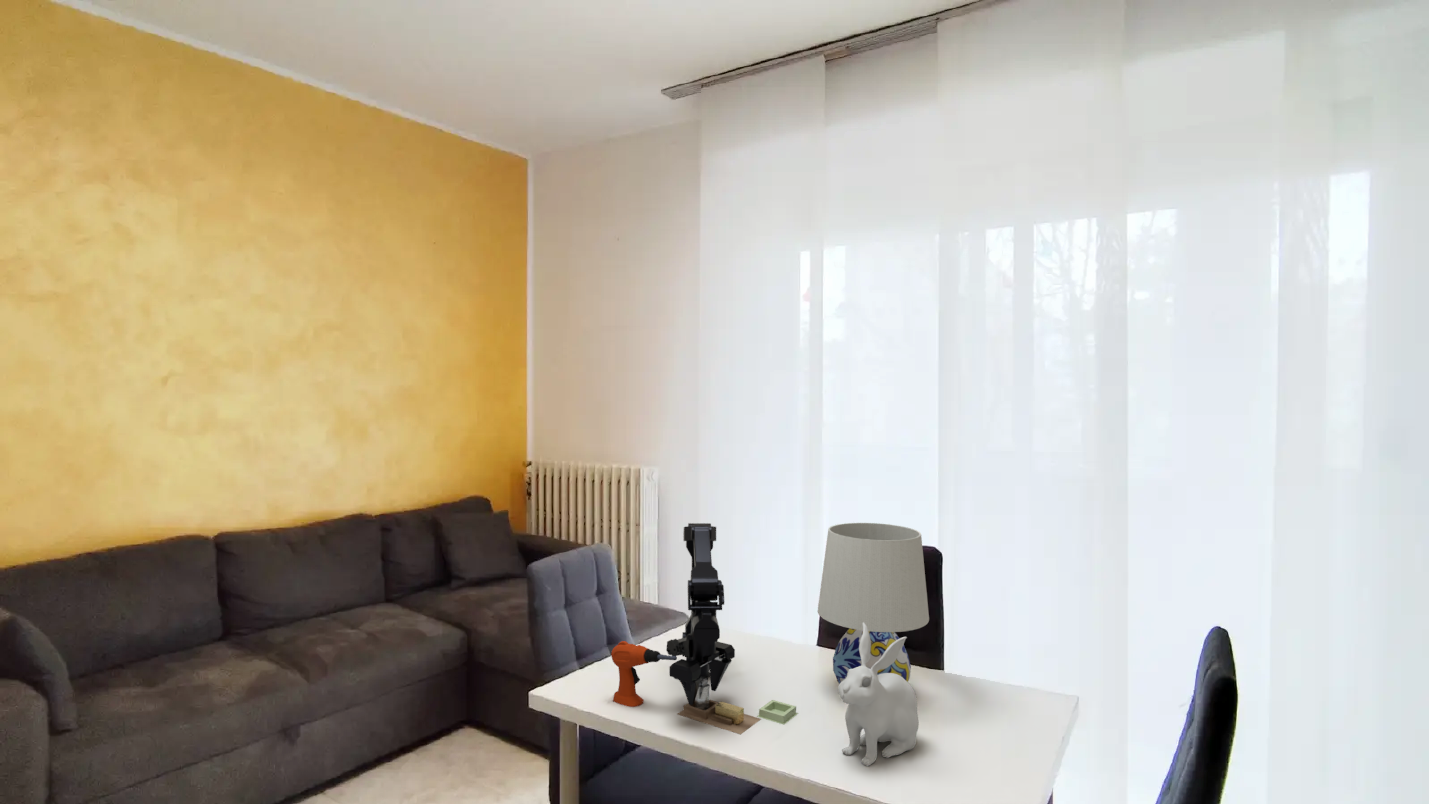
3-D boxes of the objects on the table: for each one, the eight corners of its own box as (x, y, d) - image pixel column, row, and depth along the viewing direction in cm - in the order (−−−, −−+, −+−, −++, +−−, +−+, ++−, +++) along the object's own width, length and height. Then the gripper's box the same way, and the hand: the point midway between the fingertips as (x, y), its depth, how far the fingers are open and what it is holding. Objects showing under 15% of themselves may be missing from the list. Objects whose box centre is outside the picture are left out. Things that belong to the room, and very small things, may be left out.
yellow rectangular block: (720, 713, 166) (721, 701, 166) (743, 720, 163) (743, 708, 163) (715, 717, 164) (715, 705, 164) (737, 724, 161) (738, 712, 161)
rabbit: (821, 753, 150) (823, 633, 150) (885, 726, 163) (888, 615, 163) (864, 777, 141) (866, 649, 141) (929, 747, 154) (932, 629, 153)
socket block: (699, 702, 174) (699, 693, 174) (761, 721, 164) (761, 711, 164) (676, 716, 166) (676, 707, 166) (740, 737, 157) (740, 727, 157)
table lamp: (888, 665, 199) (891, 519, 199) (950, 707, 174) (954, 539, 173) (798, 676, 191) (800, 523, 190) (848, 721, 165) (852, 545, 164)
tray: (771, 708, 171) (771, 698, 171) (798, 715, 168) (798, 706, 168) (756, 719, 166) (756, 709, 166) (784, 727, 162) (784, 717, 162)
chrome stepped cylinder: (700, 707, 170) (700, 675, 170) (711, 710, 168) (712, 678, 168) (692, 712, 167) (693, 679, 167) (704, 715, 166) (704, 682, 165)
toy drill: (675, 716, 163) (669, 648, 164) (609, 707, 172) (603, 643, 173) (687, 708, 167) (681, 642, 168) (621, 700, 177) (616, 637, 177)
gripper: (697, 613, 180) (696, 676, 180) (650, 634, 164) (649, 703, 164) (736, 622, 174) (735, 687, 174) (691, 644, 158) (690, 715, 158)
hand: (702, 697), depth 168 cm, fingers open, 9 cm apart
